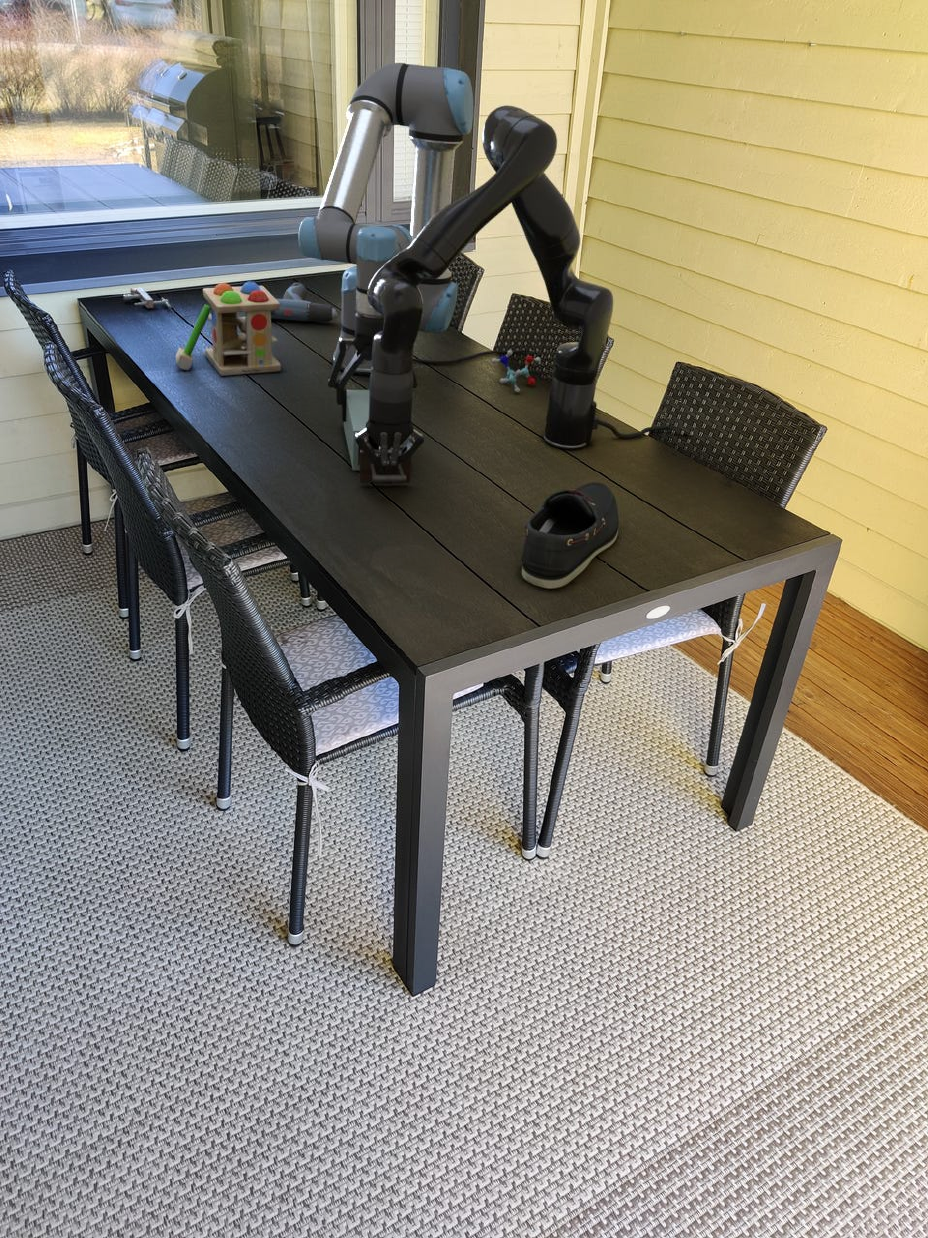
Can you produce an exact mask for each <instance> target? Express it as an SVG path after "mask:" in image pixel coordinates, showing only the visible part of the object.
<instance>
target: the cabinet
mask: <svg viewBox="0 0 928 1238" xmlns="http://www.w3.org/2000/svg"><path fill="white" fill-rule="evenodd" d="M346 390H347V403H346V422H343V430H344V435H345V439H346V444H347V450H348V455H349V458H350V464H351V468H352V471H355V472H356V471H359V466H360V457H359V445H358V444H357V443H356V441H355V436H354V434H355V432H361V431H362V430H364V429H365V428H366V423H367V422H368V419H369V393H370V390H369V389H346ZM409 438H410V436H409V437H408V438H407V440H406V441H405V442H404V443H403V445H404V446H405V445H406V444H407V443H408V442H409V441H410V439H409Z"/></svg>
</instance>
